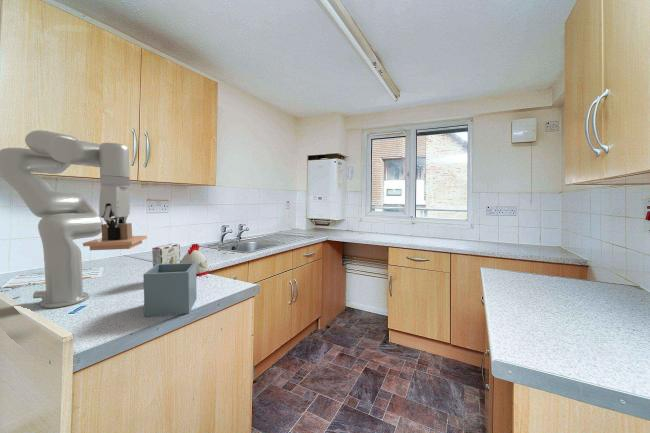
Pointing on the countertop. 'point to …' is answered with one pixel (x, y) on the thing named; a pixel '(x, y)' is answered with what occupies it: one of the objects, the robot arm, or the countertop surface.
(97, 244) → the lid
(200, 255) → the kitchen timer
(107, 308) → the countertop surface
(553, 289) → the countertop surface
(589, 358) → the countertop surface
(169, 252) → the candy bar box
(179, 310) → the box
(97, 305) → the countertop surface
